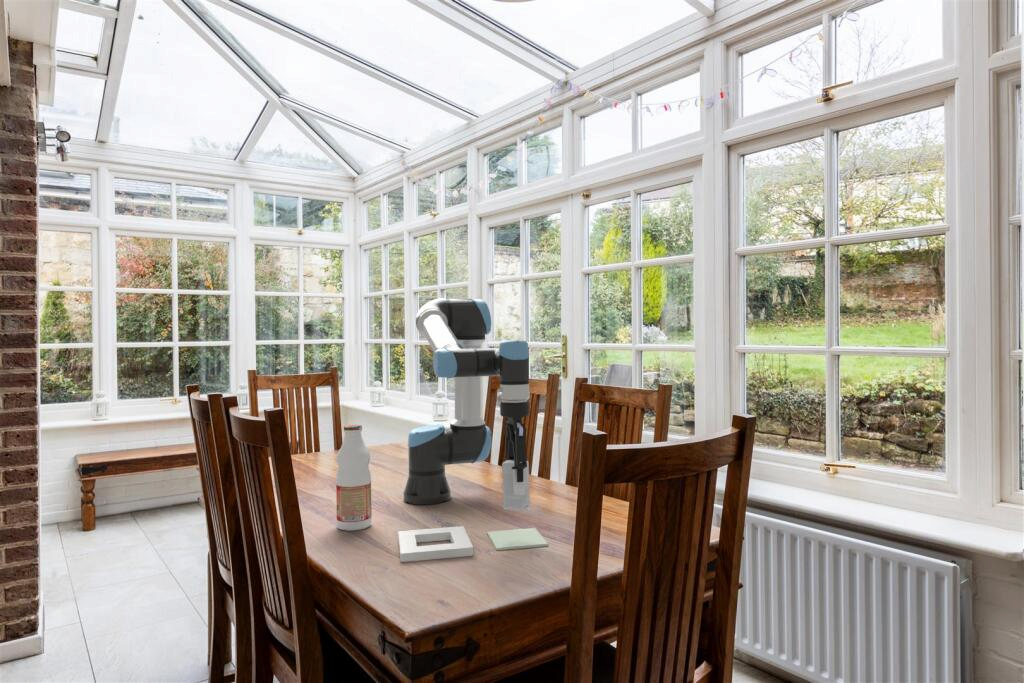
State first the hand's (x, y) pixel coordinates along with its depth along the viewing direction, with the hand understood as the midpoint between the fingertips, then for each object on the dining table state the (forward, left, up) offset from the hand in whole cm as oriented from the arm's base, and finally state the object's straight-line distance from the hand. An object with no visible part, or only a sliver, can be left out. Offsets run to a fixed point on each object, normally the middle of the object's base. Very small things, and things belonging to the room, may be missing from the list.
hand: (516, 490), depth 156 cm
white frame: (0, -21, -13) cm, 24 cm away
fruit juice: (-23, -41, -13) cm, 49 cm away
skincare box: (0, 0, -5) cm, 5 cm away
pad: (0, 0, -13) cm, 12 cm away
